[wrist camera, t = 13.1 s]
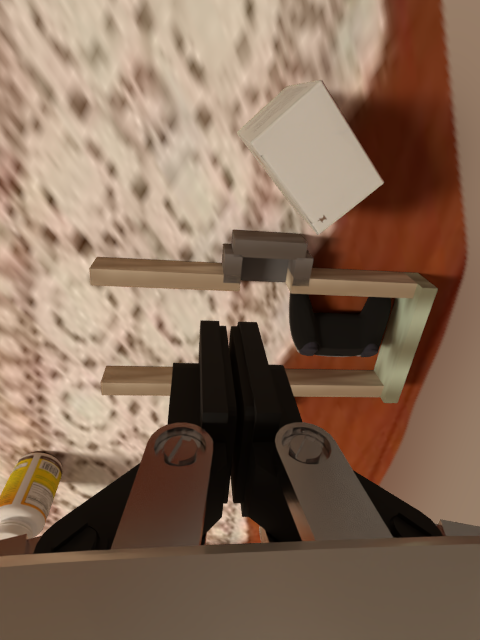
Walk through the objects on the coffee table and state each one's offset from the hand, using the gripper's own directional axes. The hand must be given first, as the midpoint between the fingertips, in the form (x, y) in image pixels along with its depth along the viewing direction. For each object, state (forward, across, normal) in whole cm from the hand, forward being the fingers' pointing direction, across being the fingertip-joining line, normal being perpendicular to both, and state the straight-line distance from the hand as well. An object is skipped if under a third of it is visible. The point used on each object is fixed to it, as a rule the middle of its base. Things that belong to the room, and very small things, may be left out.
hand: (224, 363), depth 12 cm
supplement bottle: (+27, +19, +35) cm, 48 cm away
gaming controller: (+28, -14, +12) cm, 33 cm away
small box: (+27, -7, -4) cm, 29 cm away
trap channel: (+27, -6, +14) cm, 31 cm away
